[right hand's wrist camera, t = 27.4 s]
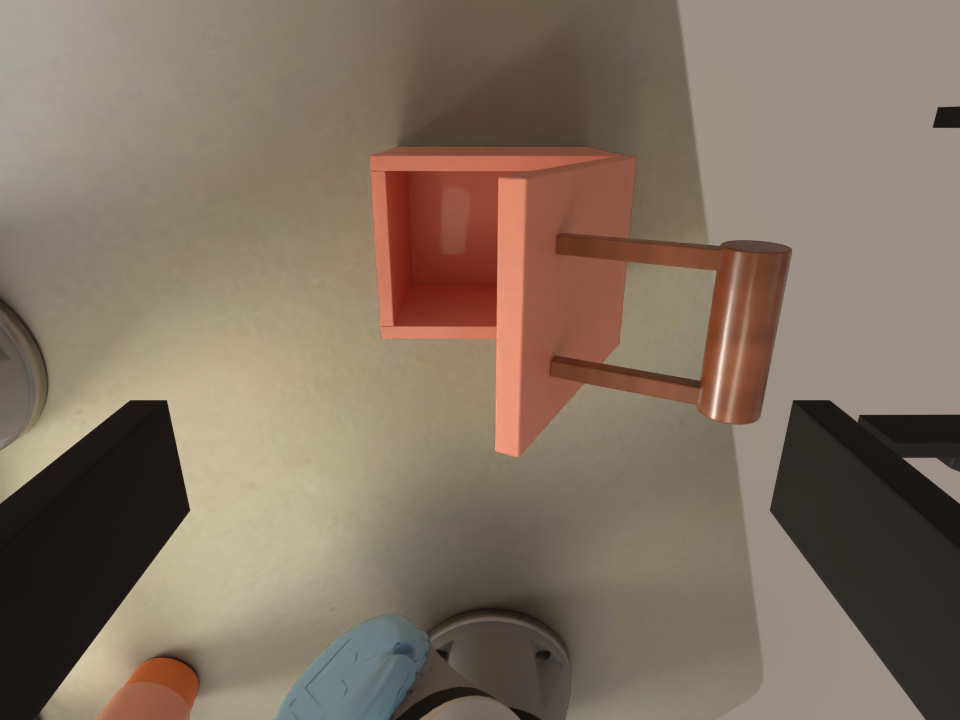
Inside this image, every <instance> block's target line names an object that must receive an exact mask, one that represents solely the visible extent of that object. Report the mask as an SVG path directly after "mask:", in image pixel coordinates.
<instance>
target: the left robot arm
mask: <svg viewBox="0 0 960 720" xmlns="http://www.w3.org/2000/svg"><path fill="white" fill-rule="evenodd" d="M933 128H960V107H938V110H937V113H936V117H935V121H934V125H933ZM858 423H859V424H860V425H861V426H863V427H864V428H865V429H866V430H868V431H869V432H870V433H871V434H873V435H874V436H875V437H876V438H878V439H879V440H880V441H881V442H883V443H884V444H885V445H886V446H888V447H889V448H890V449H891V450H893V451H894V452H895V453H896V454H898V455H899V456H900V457H901V458H937V459H939V460H940V461H941V462H943V463H944V464H945V465H947V466H948V467H950V468H952V469H954V470H957V471H959V472H960V415H859V419H858ZM570 693H571V671H570V665H569V659H568V655H567V652H566V649H565V647H564V645H563V644H562V642H561V641H560V639H559V638H558V637H557V636H556V634H555V633H554V632H553V631H551V630H550V629H549V628H548V627H547V626H545V625H544V624H542V623H541V622H539V621H537V620H535V619H533V618H531V617H529V616H526V615H523V614H520V613H516V612H512V611H506V610H492V609H491V610H477V611H471V612H467V613H463V614H460V615H457V616H454V617H452V618H450V619H447V620H445V621H444V622H442V623H440V624H439V625H437V626H436V627H435V628H433V629H432V630H431V631H430V632H429V633H428V634H427V633H426V632H424V631H420V630H419V629H418V628H417V627H416V626H415V625H414V624H413V623H412V622H411V621H410V620H408V619H407V618H405V617H403V616H400V615H392V614H389V615H381V616H378V617H374V618H371V619H369V620H366V621H364V622H362V623H361V624H359V625H358V626H356V627H355V628H353V629H350V630H349V631H347V632H346V633H344V634H343V635H342V636H340V637H339V638H338V639H336V640H335V641H334V642H333V643H332V644H330V645H329V646H328V647H327V648H326V649H325V650H324V651H323V652H322V653H321V654H320V655H319V656H318V657H317V658H316V659H315V660H314V661H313V662H312V663H311V664H310V665H309V666H308V668H307V669H306V670H305V671H304V672H303V673H302V675H301V676H300V677H299V679H298V680H297V681H296V682H295V684H294V685H293V687H292V688H291V689H290V691H289V692H288V694H287V695H286V697H285V699H284V700H283V702H282V704H281V706H280V708H279V711H278V713H277V714H276V716H275V718H274V720H565V718H566V713H567V708H568V703H569V698H570Z"/></svg>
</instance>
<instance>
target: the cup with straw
mask: <svg viewBox="0 0 960 720" xmlns="http://www.w3.org/2000/svg"><path fill="white" fill-rule="evenodd" d="M198 688H199V682H198V678H197V676H196V674H195V673H194V672H193V670H192V669H191V668H190V667H188V666H187V665H185V664H184V663H182V662H180V661H177V660H174V659H170V658H154V659H150V660H147V661H145V662H144V663H142V664H141V665H140V666H139V667H138V668H137V669H136V671H135V672H134V673H133V675H132V676H131V677H130V679H129V680H128V681H127V682H126V684H125V685H124V686H123V687H122V688H121V689H119V690H118V691H117V692H116V693H115V695H114V696H113V697H112V699H111V700H110V701H109V703H108V704H107V705H106V706H105V708H104V709H103V710H102V712H101V713H100V714H99V716H98V717H97V718H96V719H95V720H189V718H190V711H191V708H192V705H193V703H194V700H195V697H196V695H197V692H198Z"/></svg>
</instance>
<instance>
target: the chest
mask: <svg viewBox="0 0 960 720" xmlns="http://www.w3.org/2000/svg"><path fill="white" fill-rule="evenodd" d="M615 156H623V155H619V154H615V153H610V152H606V151H602V150H598V149H594V148H591V147H394V148H393V149H389V150H386V151H383V152H379V153H376V154H373V155H370V170H371V187H372V203H373V219H374V235H375V251H376V267H377V283H378V299H379V315H380V330H381V339H497V256H498V179H499V177H500V176H505V175H511V174H517V173H522V172H528V171H534V170H540V169H546V168H551V167H557V166H563V165H569V164H575V163H580V162H586V161H592V160H598V159H604V158H609V157H615Z"/></svg>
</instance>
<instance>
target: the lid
mask: <svg viewBox="0 0 960 720" xmlns="http://www.w3.org/2000/svg"><path fill="white" fill-rule="evenodd" d="M635 168H636V157H635V156H615V157H609V158H604V159H598V160H592V161H586V162H580V163H575V164H569V165H563V166H557V167H551V168H546V169H540V170H534V171H528V172H522V173H517V174H511V175H505V176H500V177H499V179H498V256H497V340H496V423H495V451H496V452H500V453H504V454H507V455H511V456H515V457H519V456H520V455H521V454H522V453H523V452H524V451H525V450H526V449H527V447H528V446H529V445H530V444H531V443H532V442H533V441H534V440H535V438H536V437H537V436H538V435H539V434H540V433H541V432H542V430H543V429H544V428H545V427H546V426H547V425H548V424H549V423H550V421H551V420H552V419H553V418H554V417H555V416H556V415H557V414H558V412H559V411H560V410H561V409H562V408H563V407H564V406H565V404H566V403H567V402H568V401H569V400H570V399H571V398H572V397H573V395H574V394H575V393H576V392H577V391H578V390H579V389H580V388H581V386H582V385H583V384H584V383H587V384H592V385H597V386H602V387H607V388H613V389H618V390H623V391H628V392H633V393H638V394H644V395H649V396H654V397H659V398H664V399H669V400H675V401H680V402H685V403H690V404H695V405H697V409H698V411H699V412H700V413H701V414H703V415H704V416H706V417H708V418H710V419H712V420H715V421H718V422H722V423H727V424H738V425H742V424H750V423H754V422H756V421H757V420H758V419H759V418H760V416H761V411H762V405H763V400H764V395H765V390H766V385H767V379H768V374H769V369H770V364H771V358H772V353H773V348H774V343H775V338H776V332H777V327H778V322H779V317H780V312H781V307H782V301H783V296H784V291H785V286H786V280H787V275H788V270H789V265H790V260H791V254H792V249H791V248H790V247H788V246H785V245H782V244H777V243H772V242H764V241H751V240H737V241H727V242H724V243H722V244H721V245H720V246H713V245H701V244H690V243H678V242H666V241H654V240H642V239H630V238H629V234H630V223H631V212H632V201H633V190H634V179H635ZM627 262H637V263H647V264H657V265H667V266H677V267H687V268H696V269H706V270H716V271H717V272H716V278H715V285H714V292H713V299H712V306H711V312H710V319H709V326H708V333H707V339H706V346H705V353H704V360H703V366H702V373H701V380H700V381H697V380H691V379H686V378H680V377H675V376H669V375H663V374H658V373H652V372H646V371H641V370H635V369H629V368H624V367H618V366H612V365H607V364H602V363H603V361H604V360H605V359H606V358H607V357H608V356H609V355H610V354H611V352H612V351H613V350H614V349H615V348H616V347H617V346H618V345H619V343H620V332H621V321H622V310H623V299H624V288H625V277H626V266H627Z"/></svg>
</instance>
